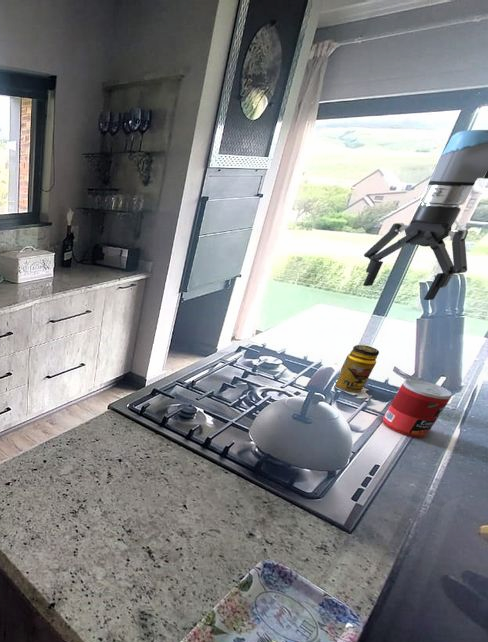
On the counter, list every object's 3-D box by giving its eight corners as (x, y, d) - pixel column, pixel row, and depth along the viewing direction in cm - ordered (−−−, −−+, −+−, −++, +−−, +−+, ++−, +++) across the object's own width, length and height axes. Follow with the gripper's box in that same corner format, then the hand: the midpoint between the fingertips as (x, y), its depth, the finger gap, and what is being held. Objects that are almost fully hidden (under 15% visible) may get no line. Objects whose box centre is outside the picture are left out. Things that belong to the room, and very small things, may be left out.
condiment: (353, 395, 108) (374, 355, 102) (319, 381, 115) (337, 343, 109) (368, 390, 111) (390, 350, 105) (334, 377, 117) (352, 339, 112)
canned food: (415, 441, 90) (442, 399, 85) (373, 422, 97) (396, 382, 91) (433, 433, 93) (460, 392, 88) (391, 415, 99) (414, 376, 94)
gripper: (371, 201, 106) (336, 281, 116) (504, 211, 85) (449, 307, 95) (389, 200, 108) (353, 279, 118) (523, 210, 87) (467, 304, 97)
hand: (396, 292), depth 106 cm, fingers open, 13 cm apart
